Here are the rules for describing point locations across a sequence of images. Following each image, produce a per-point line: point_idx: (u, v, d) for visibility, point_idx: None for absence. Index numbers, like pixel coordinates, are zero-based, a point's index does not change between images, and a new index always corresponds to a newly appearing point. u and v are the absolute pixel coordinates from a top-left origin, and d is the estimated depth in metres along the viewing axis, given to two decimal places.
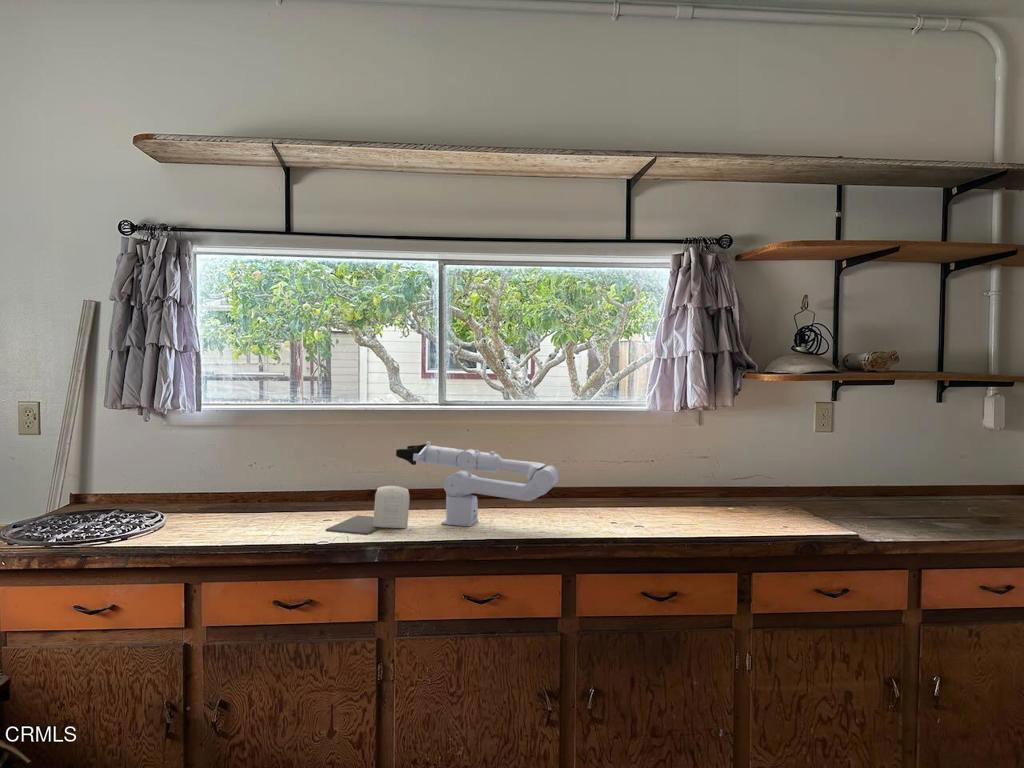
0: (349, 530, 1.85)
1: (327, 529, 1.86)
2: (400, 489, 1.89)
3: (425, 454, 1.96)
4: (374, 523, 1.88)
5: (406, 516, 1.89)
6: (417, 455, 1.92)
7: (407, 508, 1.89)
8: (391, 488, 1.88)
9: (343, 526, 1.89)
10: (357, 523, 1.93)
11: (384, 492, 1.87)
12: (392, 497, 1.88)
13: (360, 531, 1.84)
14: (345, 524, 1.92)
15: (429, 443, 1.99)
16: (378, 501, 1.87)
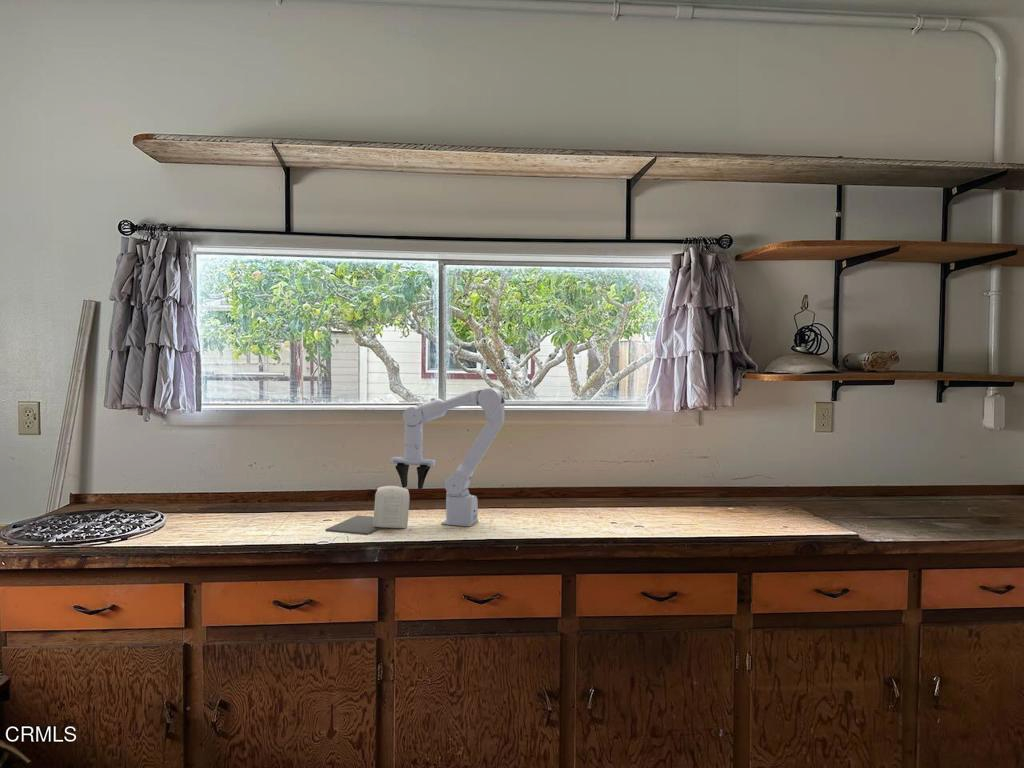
0: (349, 530, 1.85)
1: (327, 529, 1.86)
2: (400, 489, 1.89)
3: (420, 459, 1.97)
4: (374, 523, 1.88)
5: (406, 516, 1.89)
6: (433, 462, 1.95)
7: (407, 508, 1.89)
8: (391, 488, 1.88)
9: (343, 526, 1.89)
10: (357, 523, 1.93)
11: (384, 492, 1.87)
12: (392, 497, 1.88)
13: (360, 531, 1.84)
14: (345, 524, 1.92)
15: (407, 460, 1.95)
16: (378, 501, 1.87)
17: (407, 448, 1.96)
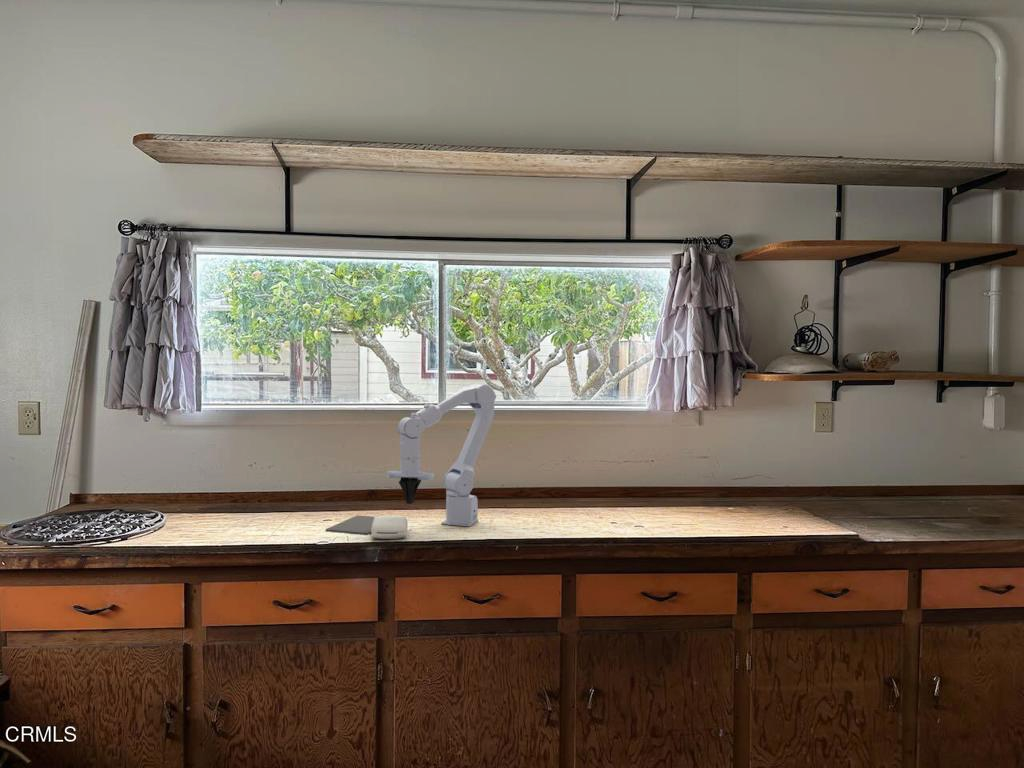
0: (349, 530, 1.85)
1: (327, 529, 1.86)
2: (397, 537, 1.77)
3: (418, 472, 1.86)
4: None
5: None
6: (431, 475, 1.85)
7: None
8: (387, 537, 1.76)
9: (343, 526, 1.89)
10: (357, 523, 1.93)
11: (380, 538, 1.77)
12: None
13: (360, 531, 1.84)
14: (345, 524, 1.92)
15: (404, 474, 1.84)
16: None
17: (403, 461, 1.85)
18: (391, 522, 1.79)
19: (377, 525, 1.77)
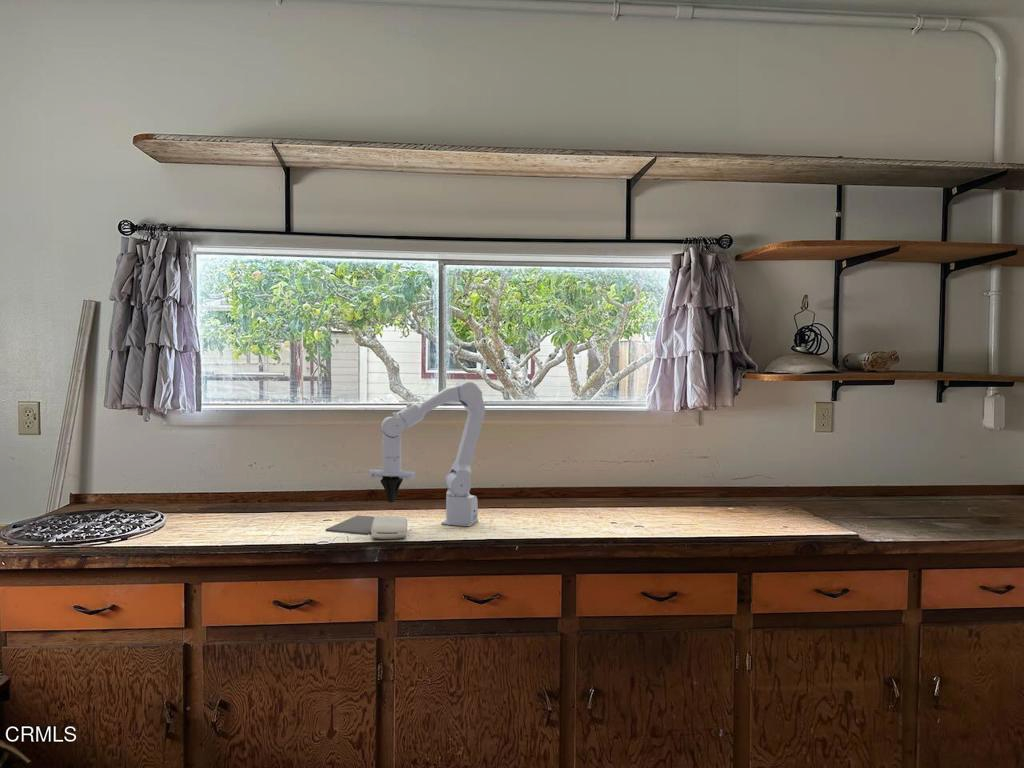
0: (349, 530, 1.85)
1: (327, 529, 1.86)
2: (396, 537, 1.77)
3: (399, 471, 1.88)
4: None
5: None
6: (412, 474, 1.87)
7: None
8: (387, 537, 1.76)
9: (343, 526, 1.89)
10: (357, 523, 1.93)
11: (380, 538, 1.77)
12: None
13: (360, 531, 1.84)
14: (345, 524, 1.92)
15: (385, 473, 1.86)
16: None
17: (385, 460, 1.87)
18: (391, 522, 1.79)
19: (377, 525, 1.77)
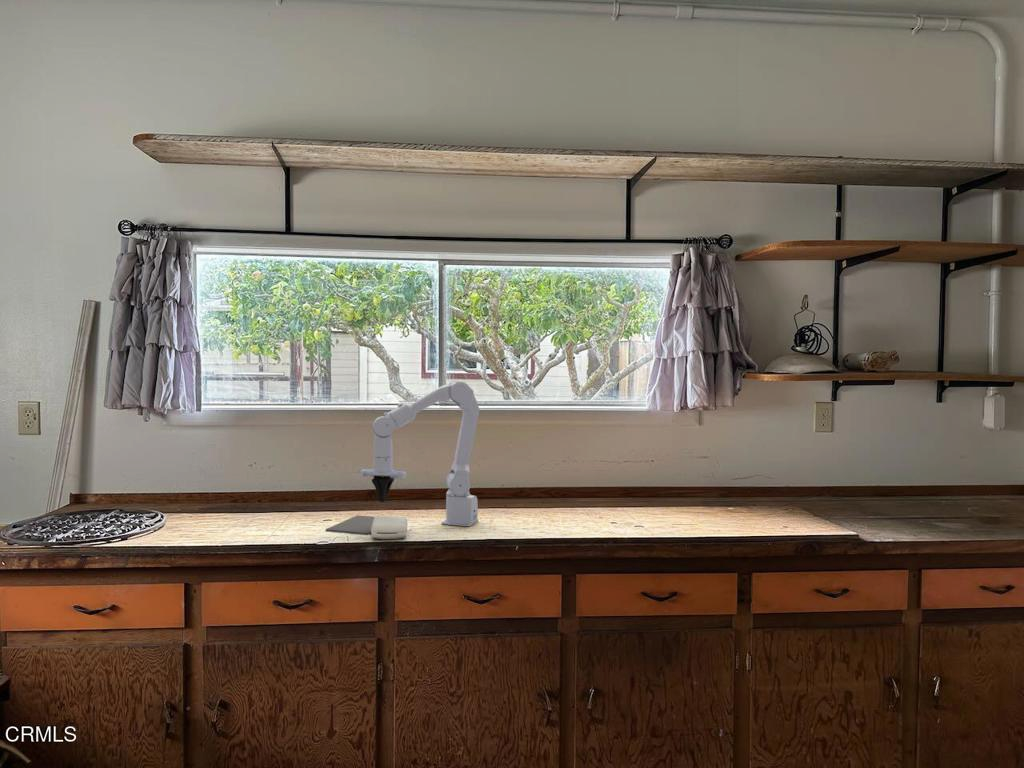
0: (349, 530, 1.85)
1: (327, 529, 1.86)
2: (396, 537, 1.77)
3: (390, 471, 1.89)
4: None
5: None
6: (403, 474, 1.88)
7: None
8: (387, 537, 1.76)
9: (343, 526, 1.89)
10: (357, 523, 1.93)
11: (380, 538, 1.77)
12: None
13: (360, 531, 1.84)
14: (345, 524, 1.92)
15: (376, 472, 1.87)
16: None
17: (376, 460, 1.88)
18: (391, 522, 1.79)
19: (377, 525, 1.77)
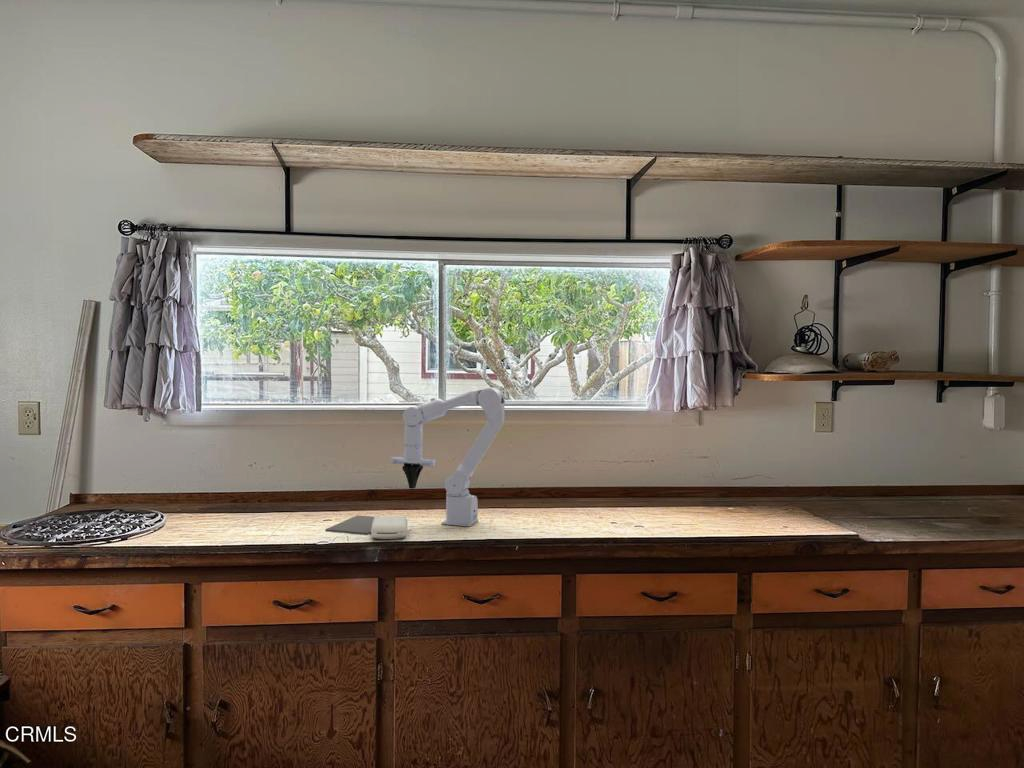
0: (349, 530, 1.85)
1: (327, 529, 1.86)
2: (396, 537, 1.77)
3: (420, 459, 1.97)
4: None
5: None
6: (433, 462, 1.95)
7: None
8: (387, 537, 1.76)
9: (343, 526, 1.89)
10: (357, 523, 1.93)
11: (380, 538, 1.77)
12: None
13: (360, 531, 1.84)
14: (345, 524, 1.92)
15: (407, 460, 1.95)
16: None
17: (407, 448, 1.96)
18: (391, 522, 1.79)
19: (377, 525, 1.77)
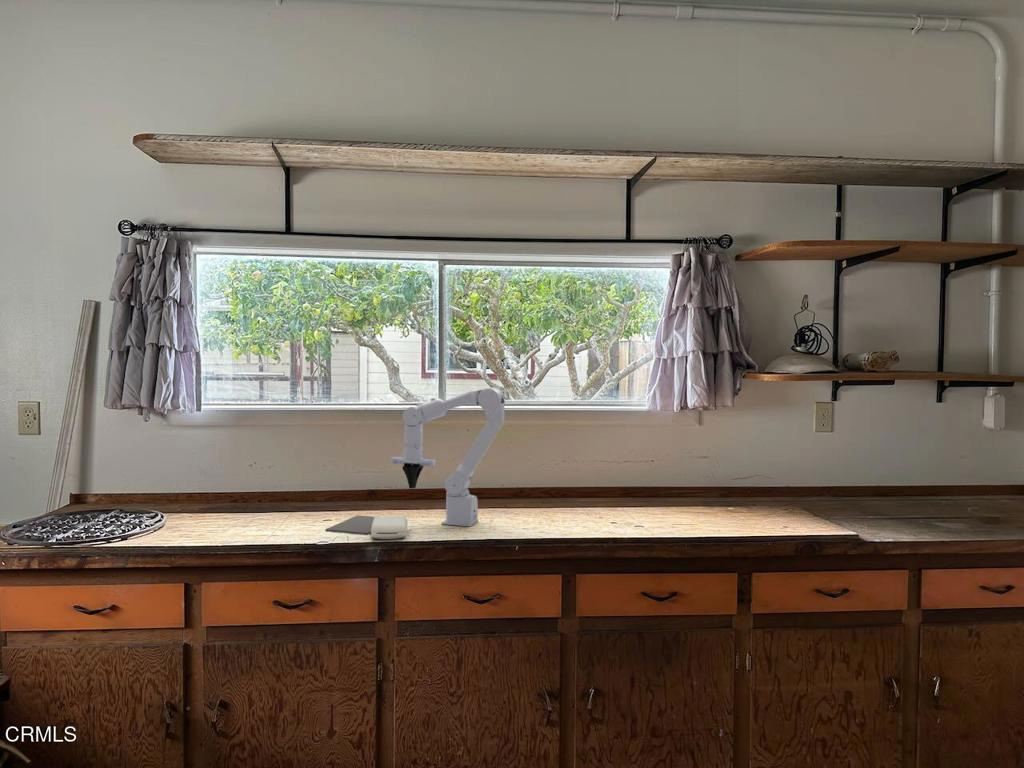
0: (349, 530, 1.85)
1: (327, 529, 1.86)
2: (396, 537, 1.77)
3: (420, 459, 1.97)
4: None
5: None
6: (433, 462, 1.95)
7: None
8: (387, 537, 1.76)
9: (343, 526, 1.89)
10: (357, 523, 1.93)
11: (380, 538, 1.77)
12: None
13: (360, 531, 1.84)
14: (345, 524, 1.92)
15: (407, 460, 1.95)
16: None
17: (407, 448, 1.96)
18: (391, 522, 1.79)
19: (377, 525, 1.77)
